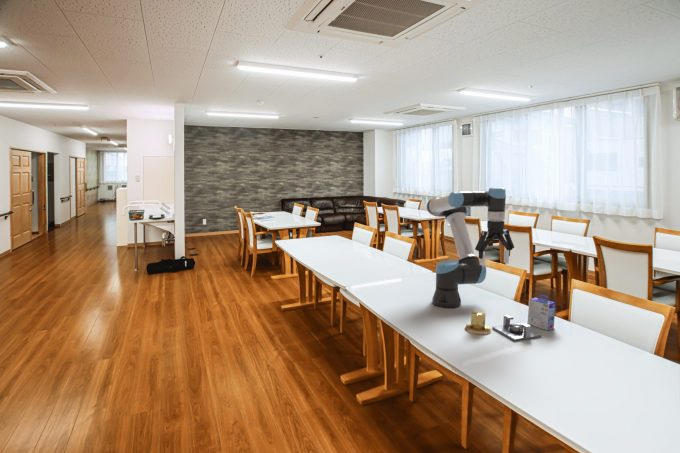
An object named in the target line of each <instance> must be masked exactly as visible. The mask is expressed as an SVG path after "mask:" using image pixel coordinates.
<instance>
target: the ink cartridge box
mask: <svg viewBox="0 0 680 453" xmlns="http://www.w3.org/2000/svg"><path fill="white" fill-rule="evenodd" d="M548 298H549V296H548V295H545V294H542V293H541V294H540V295H539V296H538V297H532V298H529V299H528V300H529V301H528V314H527V322H526V324H528V325H530V326H534V327H536V328H539V329H543V330H545V331H549V330H553V329H555V316H556V302H554V301H550V300H548Z"/></svg>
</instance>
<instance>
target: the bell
mask: <svg viewBox="0 0 680 453" xmlns="http://www.w3.org/2000/svg"><path fill="white" fill-rule="evenodd" d="M465 326H466V327H467V328H471V329H472V330H475V331H490V329H491V327H490V326H487V327H485V326H486V313H485V312H483V311H478V310H477V311H476V310H475V311H472V312H471V314H470V323H466V325H465Z"/></svg>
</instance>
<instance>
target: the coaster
mask: <svg viewBox="0 0 680 453" xmlns="http://www.w3.org/2000/svg"><path fill="white" fill-rule="evenodd" d="M485 327H488V326H487V325H485ZM464 330H465V331H466V332H468V334H473V335H477V336H478V335H479V336H486V335H490V334H491V332H492V329H491V328H490V331H475V330H472V329H471V328H467V327H466V325H465V326H464Z"/></svg>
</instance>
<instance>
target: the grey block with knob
mask: <svg viewBox="0 0 680 453" xmlns="http://www.w3.org/2000/svg"><path fill="white" fill-rule="evenodd" d="M512 320H514V316H512V315H510V314H504V315H503V320H502V321H503V322H502V324H503V325H496V326H492V329H491V330H494V331H496V332H497V333H498V334H501V335H502V336H504V337H506V338H508V339H509V340H511V341H513V342H519V341H525V340H531V339H538V338H542V336H543V335H542V334H540V333H538V332H536V331H534V330H533V329H532V325H530V324H527V322H523V323H519V322H515V323H511V321H512Z"/></svg>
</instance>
